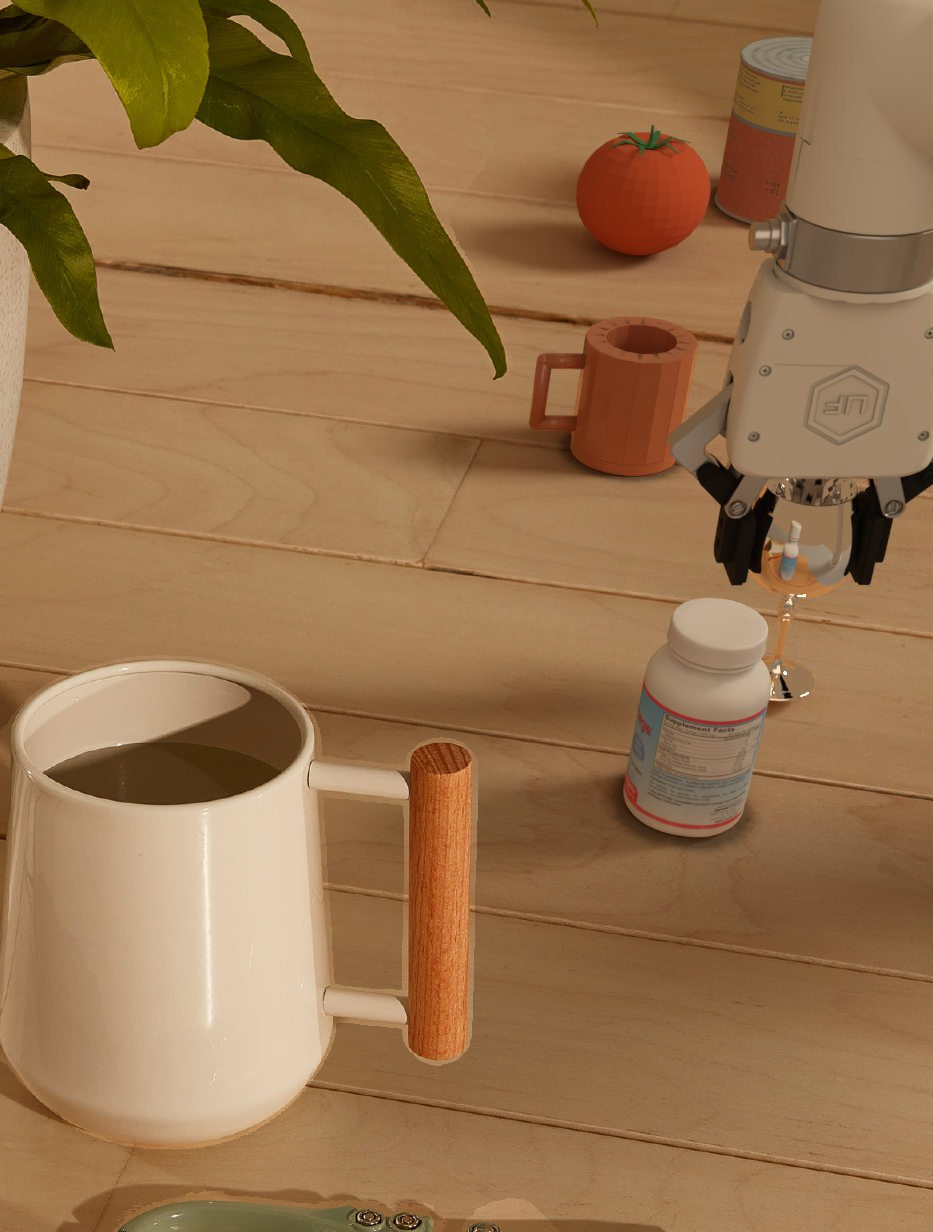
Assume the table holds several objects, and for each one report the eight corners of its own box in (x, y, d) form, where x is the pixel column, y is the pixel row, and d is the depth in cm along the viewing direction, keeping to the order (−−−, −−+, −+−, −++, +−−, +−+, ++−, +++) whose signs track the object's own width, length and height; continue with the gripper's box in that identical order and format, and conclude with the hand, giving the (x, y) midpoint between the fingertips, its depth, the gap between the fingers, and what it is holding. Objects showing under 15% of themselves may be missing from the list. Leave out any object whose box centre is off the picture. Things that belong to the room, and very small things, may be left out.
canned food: (849, 238, 164) (882, 87, 157) (706, 221, 167) (732, 72, 160) (859, 189, 173) (891, 44, 165) (723, 173, 176) (748, 30, 168)
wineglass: (703, 688, 112) (736, 493, 105) (742, 640, 116) (777, 449, 109) (806, 719, 110) (847, 522, 102) (842, 670, 113) (885, 476, 106)
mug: (667, 427, 139) (686, 316, 134) (685, 477, 133) (706, 363, 128) (519, 425, 139) (533, 314, 134) (531, 474, 133) (546, 361, 129)
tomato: (634, 216, 168) (653, 94, 162) (727, 257, 161) (750, 131, 155) (541, 244, 164) (557, 119, 158) (632, 287, 157) (653, 158, 151)
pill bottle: (638, 759, 109) (672, 577, 102) (753, 789, 106) (796, 605, 99) (607, 823, 104) (641, 637, 97) (727, 855, 102) (770, 668, 95)
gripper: (691, 277, 95) (642, 609, 106) (1068, 274, 94) (979, 609, 105) (664, 218, 101) (619, 538, 112) (1018, 214, 100) (939, 537, 111)
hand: (794, 569), depth 109 cm, fingers closed on wineglass, 5 cm apart
